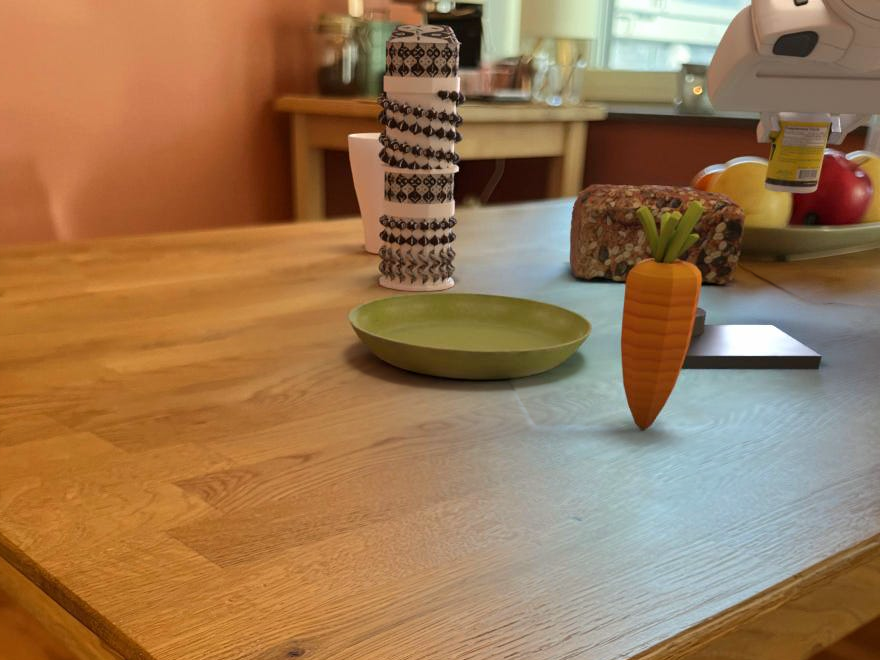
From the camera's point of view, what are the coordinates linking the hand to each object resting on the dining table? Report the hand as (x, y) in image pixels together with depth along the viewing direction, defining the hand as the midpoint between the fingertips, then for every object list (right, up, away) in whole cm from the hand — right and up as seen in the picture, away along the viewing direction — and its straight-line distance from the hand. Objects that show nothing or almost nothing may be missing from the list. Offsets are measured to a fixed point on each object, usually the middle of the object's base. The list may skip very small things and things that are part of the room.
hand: (797, 137), depth 93 cm
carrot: (-19, -31, -21) cm, 43 cm away
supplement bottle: (0, -4, +2) cm, 5 cm away
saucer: (-31, -22, -5) cm, 38 cm away
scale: (-8, -21, -3) cm, 22 cm away
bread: (-7, -3, +28) cm, 29 cm away
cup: (-38, +5, +40) cm, 55 cm away
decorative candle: (-35, -6, +22) cm, 41 cm away
